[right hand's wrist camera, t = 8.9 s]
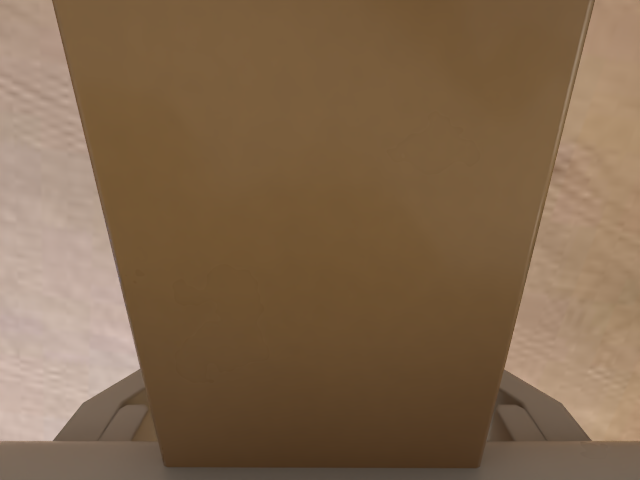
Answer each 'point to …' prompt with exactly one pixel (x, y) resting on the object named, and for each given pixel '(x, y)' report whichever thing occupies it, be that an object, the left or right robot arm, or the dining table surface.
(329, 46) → the bar
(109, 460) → the right robot arm
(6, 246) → the dining table surface
